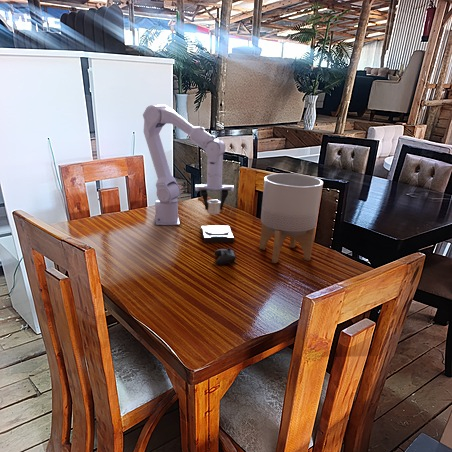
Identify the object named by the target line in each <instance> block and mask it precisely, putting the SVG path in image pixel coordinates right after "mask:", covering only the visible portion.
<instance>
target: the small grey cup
mask: <svg viewBox="0 0 452 452" xmlns="http://www.w3.org/2000/svg"><path fill="white" fill-rule="evenodd" d="M220 206H221V202H220V200H218V199H207V207H208V208H207V210H206V212H207V214H209V215H219V214H220V213H221V210H220Z"/></svg>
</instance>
